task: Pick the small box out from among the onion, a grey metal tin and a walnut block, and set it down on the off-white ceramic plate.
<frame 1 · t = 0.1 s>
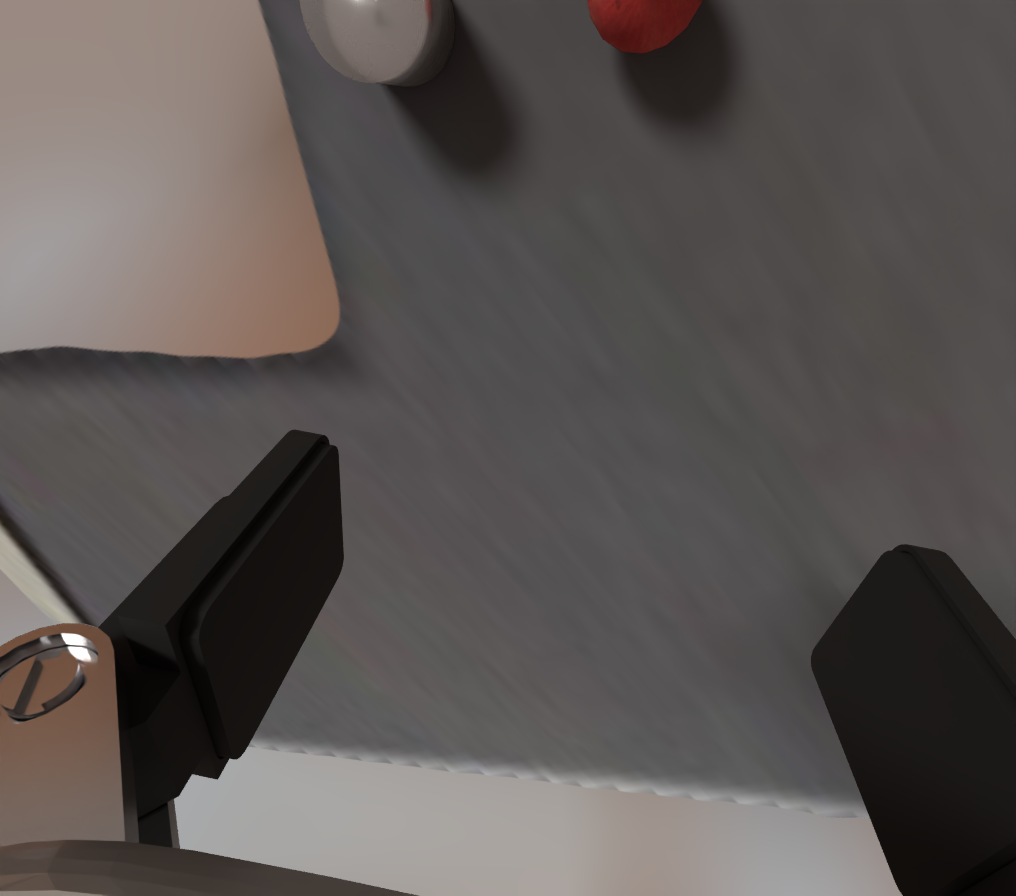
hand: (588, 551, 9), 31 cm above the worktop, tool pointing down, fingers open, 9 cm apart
tin: (404, 24, 31), on the worktop
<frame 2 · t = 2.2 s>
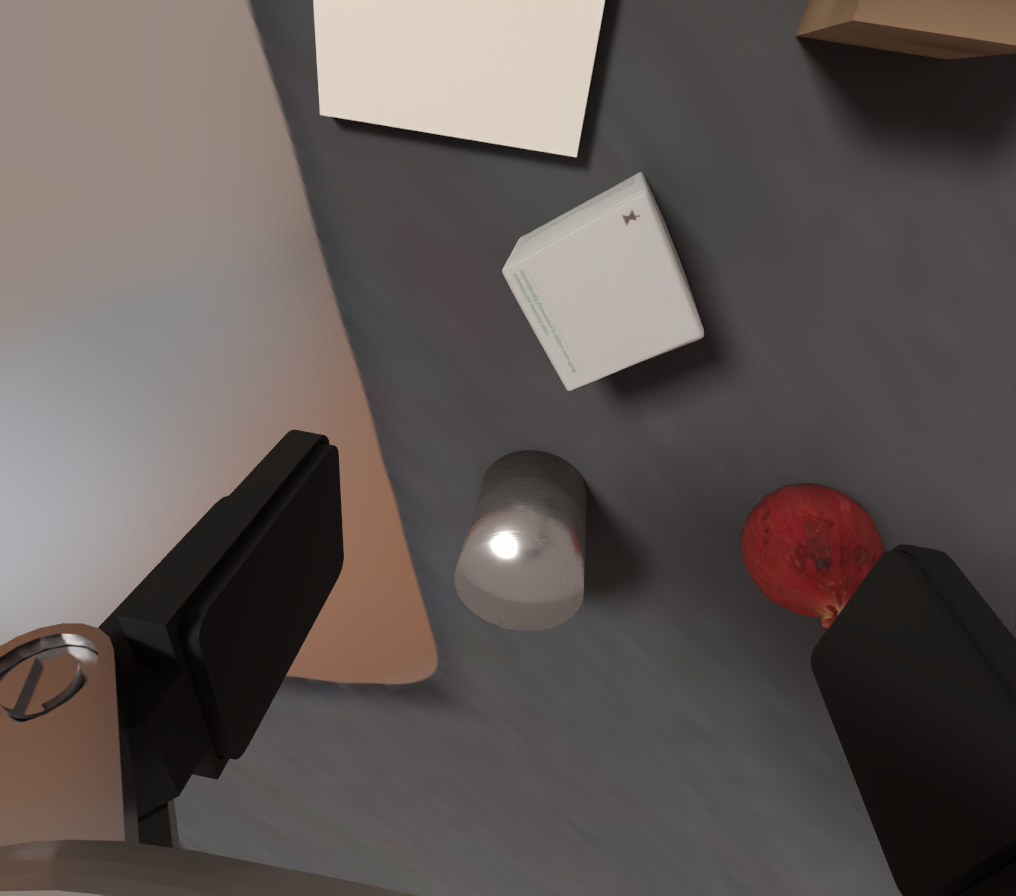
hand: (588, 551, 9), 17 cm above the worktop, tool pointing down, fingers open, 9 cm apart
tin: (533, 494, 30), on the worktop
small box: (604, 265, 23), on the worktop
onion: (784, 496, 28), on the worktop
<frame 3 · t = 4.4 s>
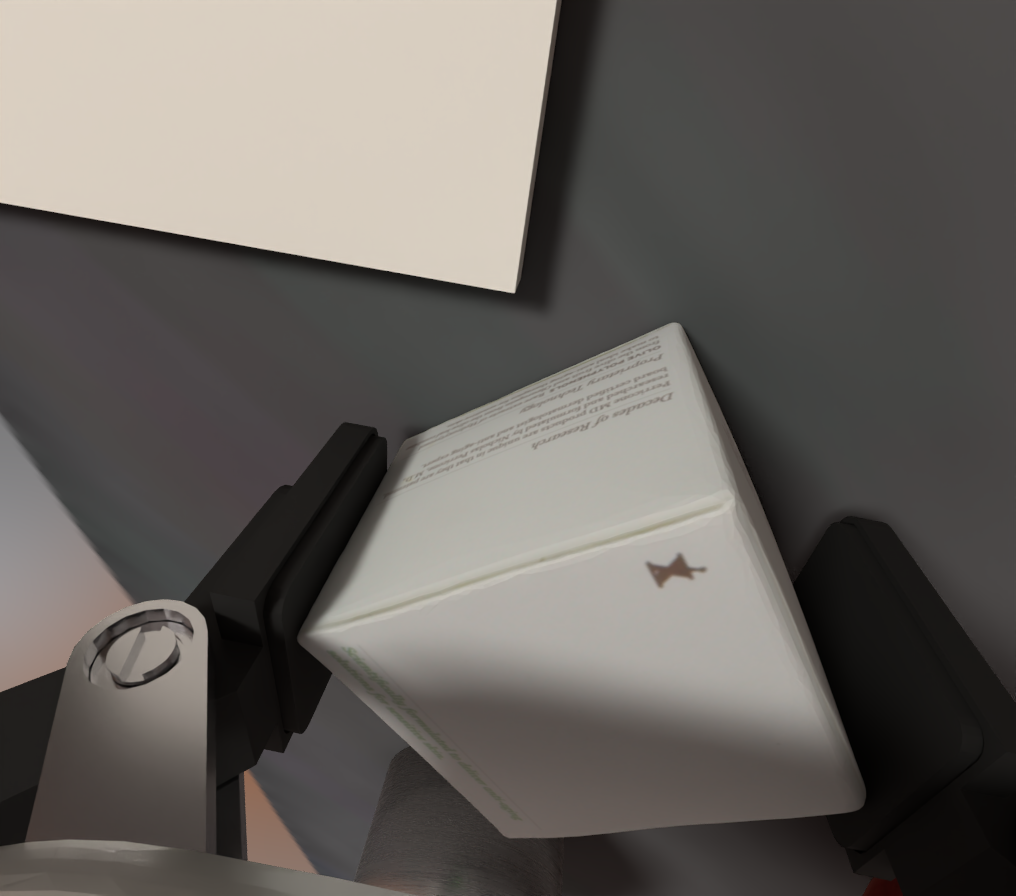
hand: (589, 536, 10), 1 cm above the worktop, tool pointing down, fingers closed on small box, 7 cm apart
tin: (475, 789, 18), on the worktop
small box: (590, 488, 11), on the worktop, touching gripper
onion: (913, 826, 16), on the worktop
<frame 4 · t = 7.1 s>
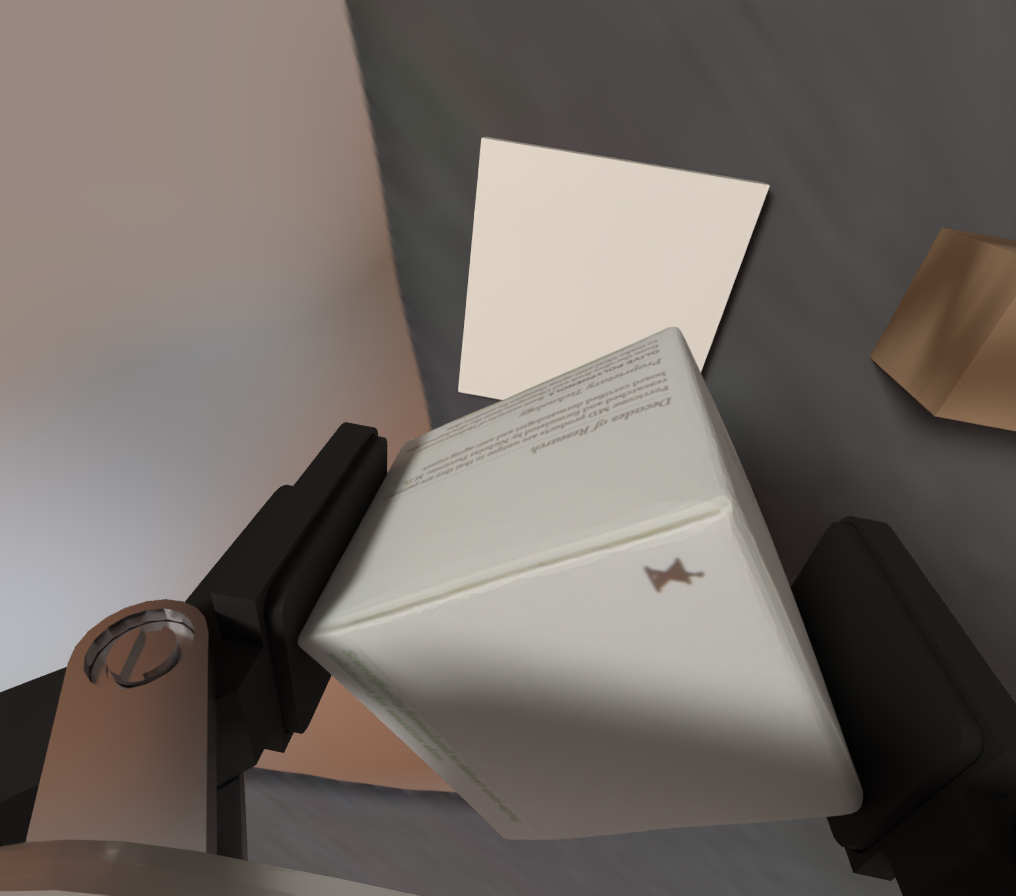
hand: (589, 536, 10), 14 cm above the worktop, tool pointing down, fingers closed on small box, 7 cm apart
plate: (592, 296, 22), on the worktop
small box: (589, 491, 11), point 13 cm above the worktop, touching gripper
walnut block: (968, 308, 20), on the worktop
when the fingers open (3 cm above the worktop, at t = 10.0 s): small box drops 1 cm, resting on plate.
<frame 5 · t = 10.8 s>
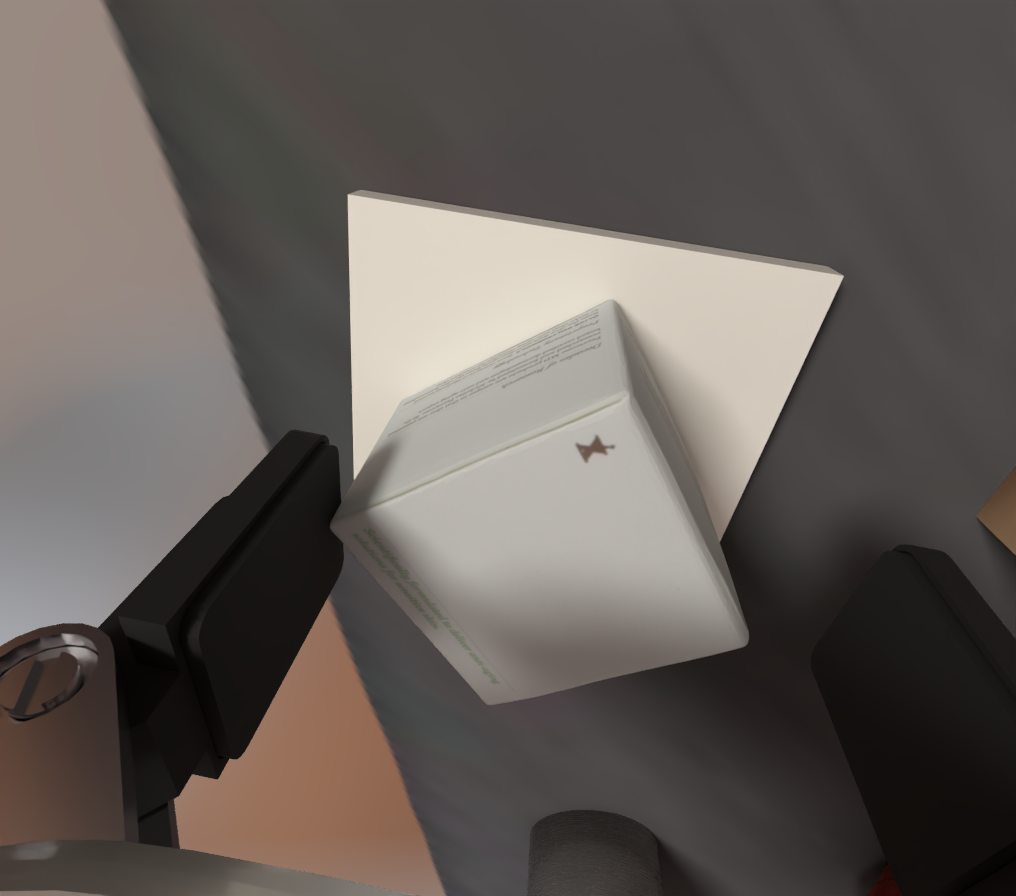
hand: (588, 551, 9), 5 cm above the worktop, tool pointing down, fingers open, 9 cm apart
tin: (592, 841, 26), on the worktop
plate: (550, 429, 14), on the worktop
small box: (553, 439, 13), point 1 cm above the worktop, touching gripper, plate
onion: (892, 858, 24), on the worktop
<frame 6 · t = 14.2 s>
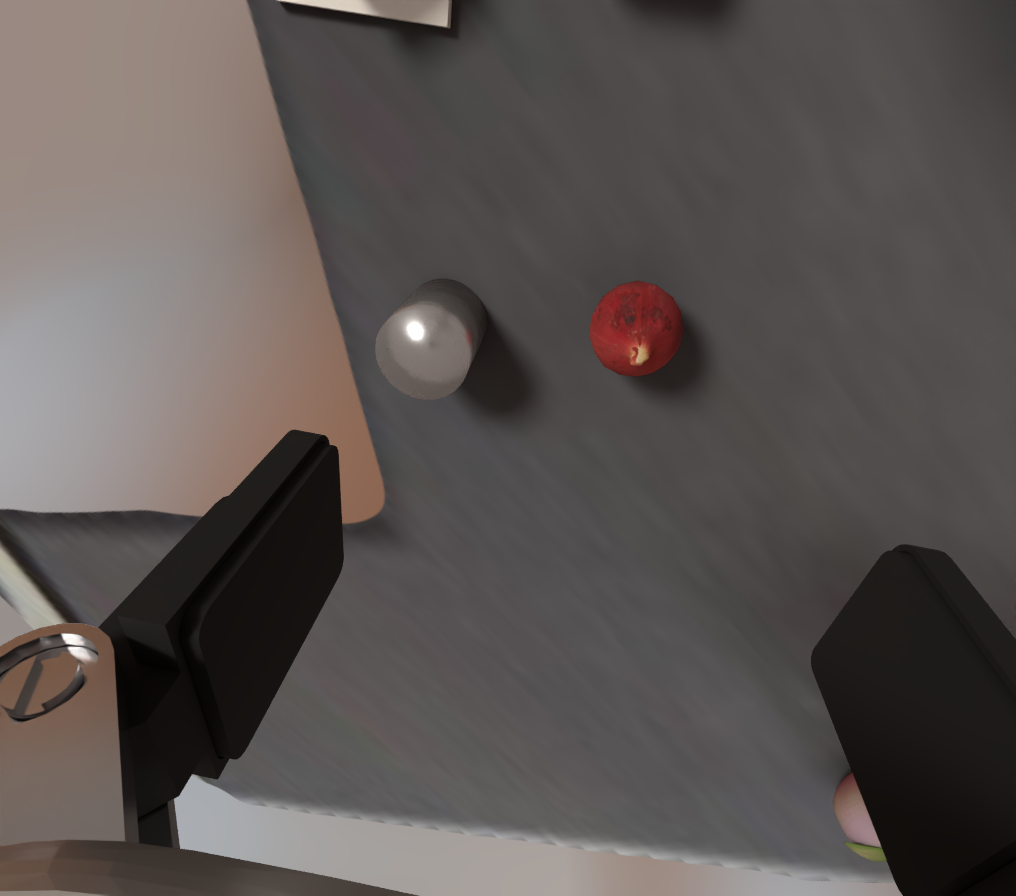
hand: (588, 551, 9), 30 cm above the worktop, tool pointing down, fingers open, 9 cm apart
tin: (446, 319, 39), on the worktop
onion: (631, 310, 37), on the worktop
decorative fruit: (863, 766, 62), on the worktop
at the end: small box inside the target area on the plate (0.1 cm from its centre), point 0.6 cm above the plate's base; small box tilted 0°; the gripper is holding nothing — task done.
